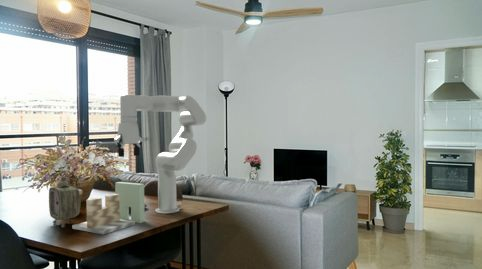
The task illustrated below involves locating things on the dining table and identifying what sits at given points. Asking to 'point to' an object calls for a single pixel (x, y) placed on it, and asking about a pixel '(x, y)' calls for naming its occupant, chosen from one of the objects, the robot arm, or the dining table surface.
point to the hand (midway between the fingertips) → (129, 156)
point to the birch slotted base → (104, 227)
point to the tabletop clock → (64, 201)
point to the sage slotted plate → (131, 200)
